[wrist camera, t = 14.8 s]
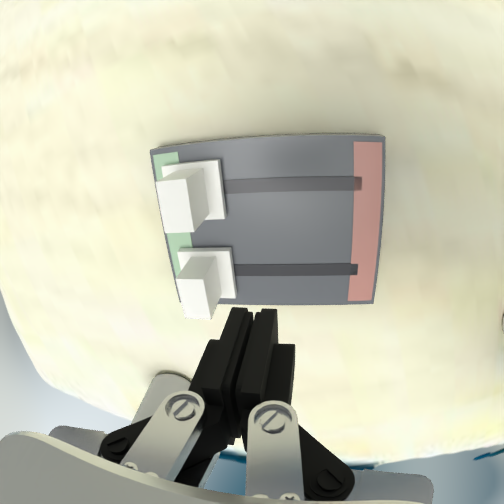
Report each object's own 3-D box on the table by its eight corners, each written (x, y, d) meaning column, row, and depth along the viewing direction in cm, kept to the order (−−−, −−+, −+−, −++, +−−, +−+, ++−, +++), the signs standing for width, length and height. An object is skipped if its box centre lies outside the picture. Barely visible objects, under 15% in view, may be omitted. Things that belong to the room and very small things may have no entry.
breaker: (231, 247, 28) (218, 274, 23) (237, 293, 30) (226, 324, 26) (180, 248, 28) (159, 273, 24) (189, 292, 31) (173, 321, 26)
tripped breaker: (220, 158, 24) (202, 170, 20) (226, 215, 26) (212, 238, 22) (165, 164, 25) (139, 177, 21) (173, 218, 27) (151, 239, 23)
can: (148, 367, 41) (115, 429, 30) (194, 372, 40) (167, 442, 29) (162, 397, 44) (137, 455, 34) (205, 403, 43) (184, 467, 32)
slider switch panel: (379, 134, 23) (385, 136, 21) (369, 292, 30) (373, 304, 28) (159, 147, 27) (149, 150, 25) (186, 292, 34) (179, 302, 32)
